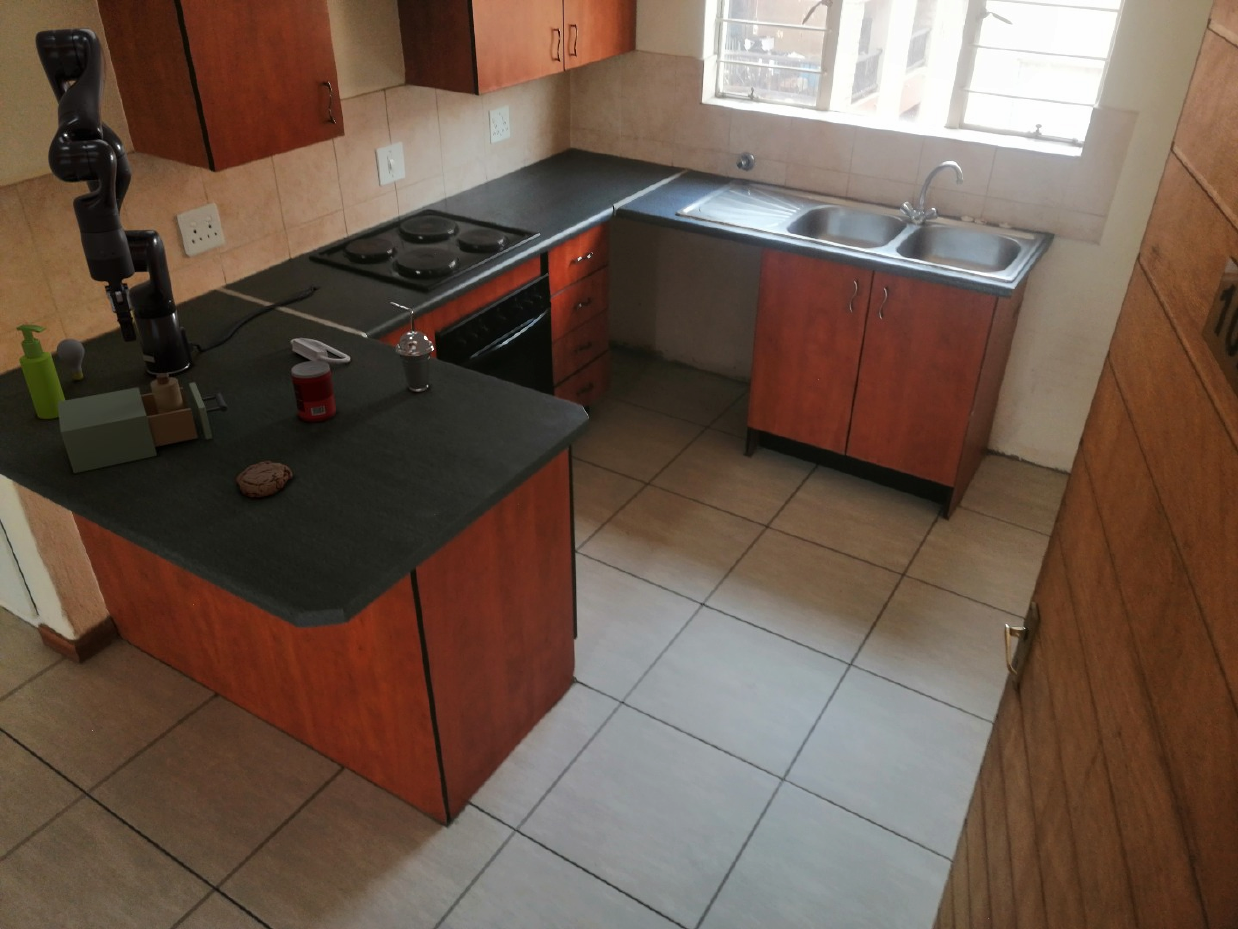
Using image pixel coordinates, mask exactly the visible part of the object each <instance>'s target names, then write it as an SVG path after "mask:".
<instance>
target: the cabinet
mask: <svg viewBox="0 0 1238 929" xmlns="http://www.w3.org/2000/svg"><path fill="white" fill-rule="evenodd" d="M141 395H142V394H141V392H140V387H132V388H128V389H122V390H116V391H111V392H104V393H99V394H94V395H88V396H83V397H77V398H71V399H65V401H61V402H57V403H58V412H59V417H58V419H59V420H58V421H59V430H60V435H61V437H62V440H63V444H64V447H65V450H66V453H67V456H68V459H69V463H70V466H71V469H72V472H73V474H78V473H82V472H86V471H92V470H96V469H101V468H106V467H111V466H116V465H120V464H125V463H129V462H134V461H138V460H143V459H147V458H153V457H156V456H158V454H157V450H156V447H155V446H154V442H153V438H152V434H151V431H150V427H149V423H148V419H147V416H146V412H145V409H144V405H143V402H142V398H141Z"/></svg>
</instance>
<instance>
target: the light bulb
mask: <svg viewBox="0 0 1238 929" xmlns="http://www.w3.org/2000/svg"><path fill="white" fill-rule="evenodd" d="M56 355H57V356H58V358H59V359H60V360H61V361H62V362H63V363H64V364H66V365H67V366H68V367H69V369H70V372H71V375H72V379H73V380H76V381H81V380H82V379H83V378H84V374H83V369H82V362H83V359H84V356H85V348H84V345H83V344H82V343H81V341H79V340H77V339H74V338H65V339H63V340H61V341H60V342H59V343H58V344H57V347H56Z"/></svg>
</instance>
